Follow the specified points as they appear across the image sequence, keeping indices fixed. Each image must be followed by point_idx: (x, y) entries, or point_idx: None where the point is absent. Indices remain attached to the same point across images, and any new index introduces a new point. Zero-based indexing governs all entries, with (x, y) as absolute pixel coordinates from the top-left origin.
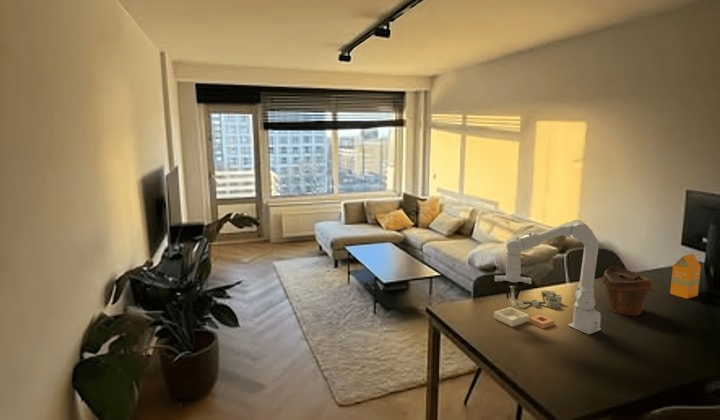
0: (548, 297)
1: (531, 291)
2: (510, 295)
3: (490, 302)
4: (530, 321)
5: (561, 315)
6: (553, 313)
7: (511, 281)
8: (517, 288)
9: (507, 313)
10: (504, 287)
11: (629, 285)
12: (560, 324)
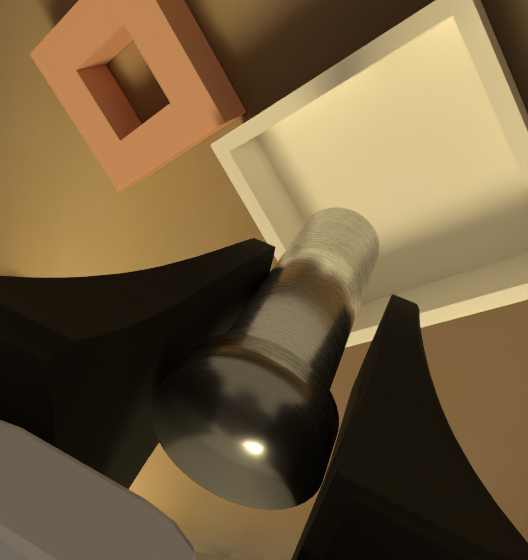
0: None
1: None
2: (341, 319)
3: None
4: (230, 99)
5: (11, 214)
6: (51, 251)
7: (159, 541)
8: (136, 317)
9: (385, 299)
10: (476, 478)
11: None
12: (23, 55)
